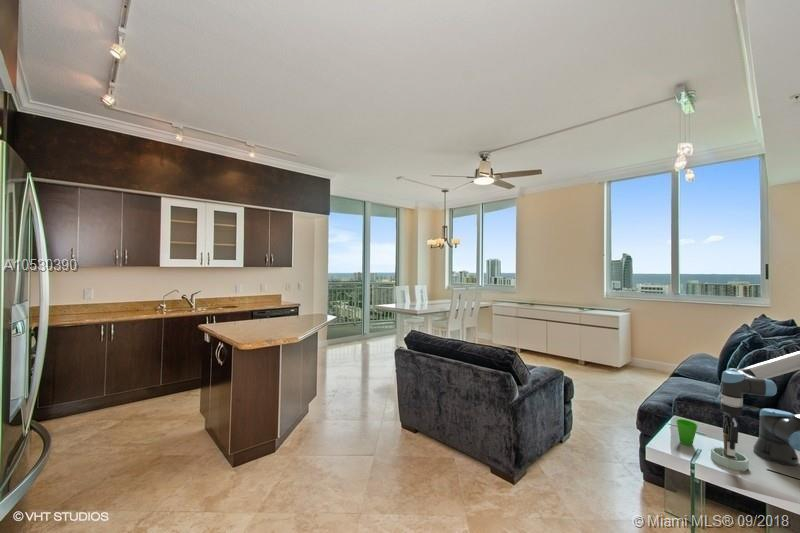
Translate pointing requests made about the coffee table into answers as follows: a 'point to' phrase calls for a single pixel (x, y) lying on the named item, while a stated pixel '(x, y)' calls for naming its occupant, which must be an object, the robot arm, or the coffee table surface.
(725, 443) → the block
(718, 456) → the pale green round dish
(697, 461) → the coffee table surface
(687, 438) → the cup
